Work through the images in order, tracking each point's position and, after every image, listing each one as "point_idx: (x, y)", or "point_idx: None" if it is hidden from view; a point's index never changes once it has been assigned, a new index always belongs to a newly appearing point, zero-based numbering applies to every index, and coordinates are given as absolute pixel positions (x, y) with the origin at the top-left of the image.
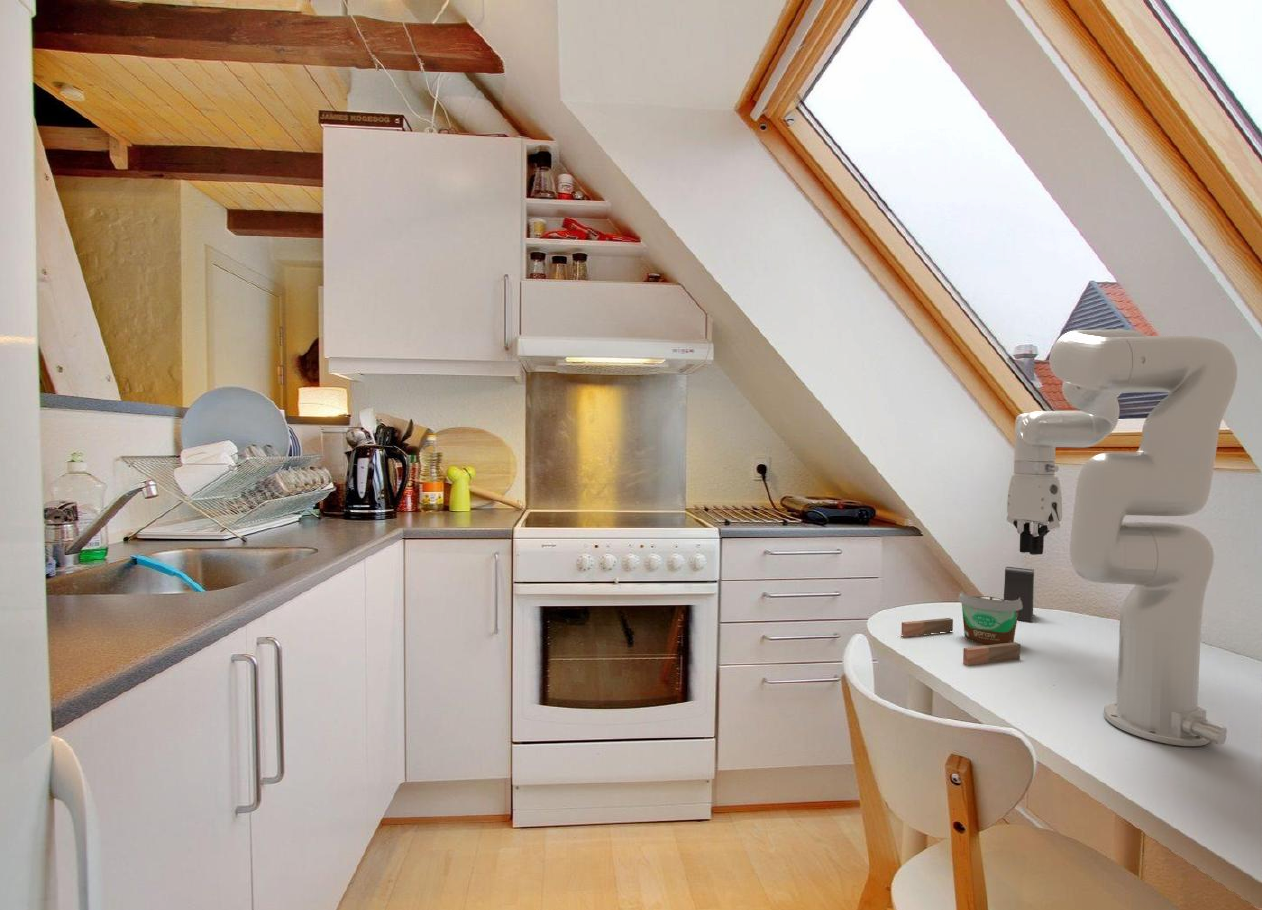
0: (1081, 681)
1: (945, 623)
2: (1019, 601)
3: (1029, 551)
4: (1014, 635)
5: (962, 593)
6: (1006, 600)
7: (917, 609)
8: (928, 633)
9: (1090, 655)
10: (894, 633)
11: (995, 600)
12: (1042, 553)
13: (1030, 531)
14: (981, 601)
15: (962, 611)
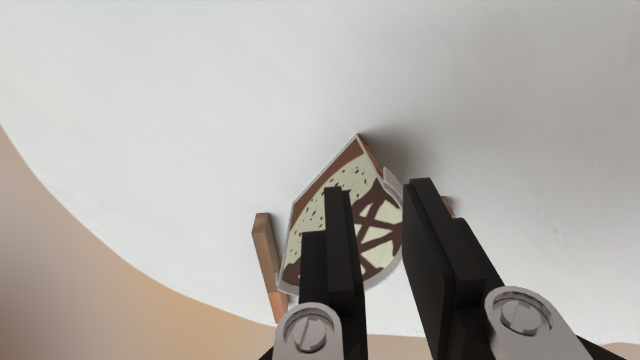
0: (574, 176)
1: (269, 243)
2: (397, 197)
3: (406, 267)
4: (368, 148)
5: (298, 295)
6: (362, 212)
7: (67, 178)
8: (279, 264)
9: (495, 10)
10: (264, 304)
11: (391, 272)
12: (427, 178)
13: (341, 331)
14: (365, 285)
15: (287, 245)
